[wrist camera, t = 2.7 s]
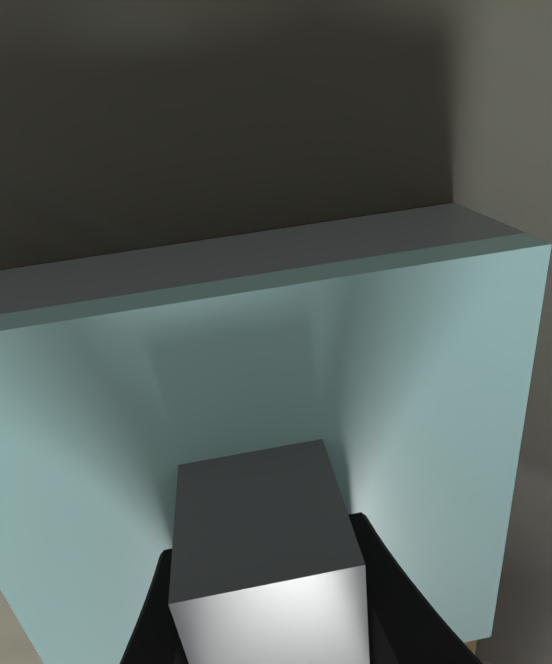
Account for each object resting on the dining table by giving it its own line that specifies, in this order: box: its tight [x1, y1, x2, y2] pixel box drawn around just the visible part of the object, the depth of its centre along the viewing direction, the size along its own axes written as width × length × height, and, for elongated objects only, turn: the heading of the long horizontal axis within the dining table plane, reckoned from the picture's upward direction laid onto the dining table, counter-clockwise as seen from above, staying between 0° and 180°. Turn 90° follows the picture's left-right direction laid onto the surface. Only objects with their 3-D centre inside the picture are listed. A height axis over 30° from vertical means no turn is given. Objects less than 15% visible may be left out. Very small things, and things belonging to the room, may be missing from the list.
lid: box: [0, 233, 552, 664], centre depth 10 cm, size 12×12×4 cm
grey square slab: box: [0, 203, 524, 314], centre depth 13 cm, size 12×12×3 cm
